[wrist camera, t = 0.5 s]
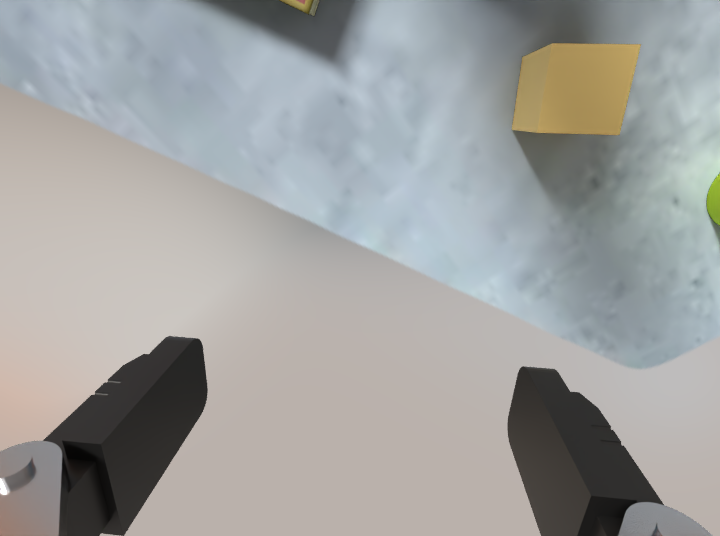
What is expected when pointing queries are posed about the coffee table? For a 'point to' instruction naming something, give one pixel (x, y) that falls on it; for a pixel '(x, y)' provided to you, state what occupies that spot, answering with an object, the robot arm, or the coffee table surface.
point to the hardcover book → (303, 5)
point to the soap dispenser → (714, 200)
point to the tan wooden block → (575, 88)
